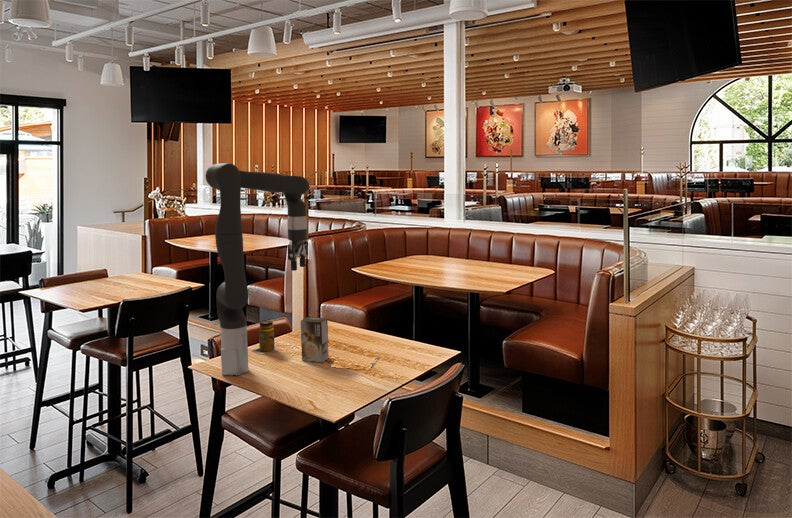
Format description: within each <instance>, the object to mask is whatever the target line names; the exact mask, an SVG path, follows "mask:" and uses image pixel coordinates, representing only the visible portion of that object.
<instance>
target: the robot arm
mask: <svg viewBox="0 0 792 518" xmlns="http://www.w3.org/2000/svg"><path fill="white" fill-rule="evenodd" d="M205 181H206V184H208V185H209V187H211V188H212V189H214V190H218V191H219V198H220V207H219V213H218V216H217V218H216V222H215V226H214V237H215V246H216V251H217V254H218V255H217V256H218V257H219V261H220V262H221V265H222V269H223V274H224V281H223V282H222V283H221V284H220V285H218V287H217V290H216V296H215V297H216V300H215V301H216V310H217V311H216V313H217V318H218V321H219V326H220V327H219V329H220V345H221V348H220V360H221V361H220V363H221V364H220V365H221V375H222V376H233V375H236V377H237V375H238V376H239V374H240V375H244V374H246V373H248V372H249V370H250V369H249V350H248V349H249V347H248V345H249V344H248V327H247V324H248V323H247V321H248V320H247V317H246V315H245V313H244V310H243V308H244V307H245V306H246V305H247V303H248V300H249V288H248V283H247V278H246V271H245V256H244V255H245V254H244V238H243V237H244V235H243V227H242V210H241V194H242V193H241V191H242V190H241V189H247V190H254V191H255V190H256V191H261V192H268V193H279V194H281V193H283V194H284V199H285V202H286V204H287V222H286V223H287V226H286V227H287V239H288V241H291V244H287V260H288V261H290V270H291V272H292V271H294V272H295V271H297V270H298V257H299V267H300V268H304V267H306V258H307V256H308V254H309V251H308V250H309V248H308V247H309V246H308V221H307V220H308V219H307V208H306V207H307V206H306V202H305V201H303V200H301V197H300V196H302V195H305V194H306V193H307V192H308V190H309V189H310V183H309V181H308V179H307V178H306V177H304V176H299V175H284V174H281V173H275V172H264V171H249V170H247V171H246V170H240V169H239V168H238V167H237V166H236V165H235V164H234V163H229V162H225V163H222V162H221V163H219V162H218V163H214V164H211V165H210V166H209V167H208V168H207V170H206V172H205ZM243 373H244V374H243Z"/></svg>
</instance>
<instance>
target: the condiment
mask: <svg viewBox="0 0 792 518" xmlns="http://www.w3.org/2000/svg"><path fill="white" fill-rule="evenodd" d="M258 337H259V338H258V339H259V340H258V341H259V344H258V345H259V346H258V347H259V348H255V349H251V351H252V352H254V353H256V354H258V355H265V354H269V353H273V352H274V353H275V352H278V351H279V348H278V349H277V348H276V347H275V346H276V345H275V328H274V322H273V321H272V320H262V321H260V322H259V329H258Z"/></svg>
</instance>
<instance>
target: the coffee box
mask: <svg viewBox="0 0 792 518" xmlns="http://www.w3.org/2000/svg"><path fill="white" fill-rule="evenodd" d="M328 330H329V328H328V318H325V317H323V318H322V317H314V316H313V317H310V316H307V317H304V318H303V319H302V320H300V341H301V345H300V346H301V360H302V362H311V361H315V362H314V363H322V362H323V363H324V362H326V361H328V359H329V331H328ZM325 360H326V361H325Z"/></svg>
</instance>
